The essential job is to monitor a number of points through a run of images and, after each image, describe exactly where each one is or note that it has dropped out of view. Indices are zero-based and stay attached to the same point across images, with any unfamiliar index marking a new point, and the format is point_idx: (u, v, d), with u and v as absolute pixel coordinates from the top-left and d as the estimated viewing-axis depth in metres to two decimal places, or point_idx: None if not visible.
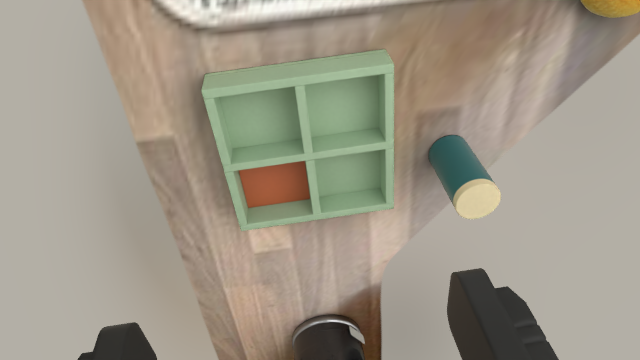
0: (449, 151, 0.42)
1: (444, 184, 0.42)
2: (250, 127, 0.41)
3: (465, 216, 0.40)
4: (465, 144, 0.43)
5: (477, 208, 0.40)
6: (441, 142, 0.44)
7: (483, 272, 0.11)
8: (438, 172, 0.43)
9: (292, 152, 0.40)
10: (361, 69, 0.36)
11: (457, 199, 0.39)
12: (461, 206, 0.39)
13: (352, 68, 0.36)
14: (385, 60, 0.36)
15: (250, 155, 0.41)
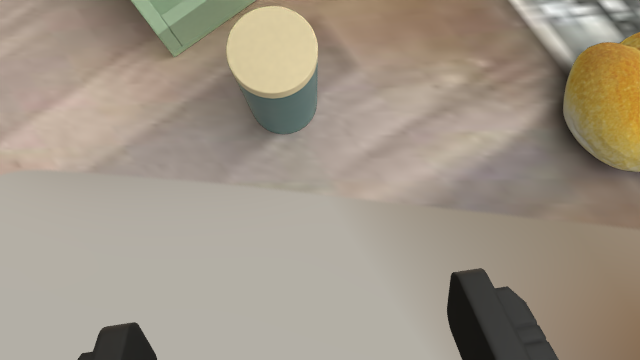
0: None
1: None
2: None
3: (230, 50, 0.20)
4: None
5: (258, 58, 0.20)
6: None
7: (483, 272, 0.11)
8: None
9: None
10: None
11: (257, 9, 0.20)
12: (247, 26, 0.20)
13: None
14: None
15: None
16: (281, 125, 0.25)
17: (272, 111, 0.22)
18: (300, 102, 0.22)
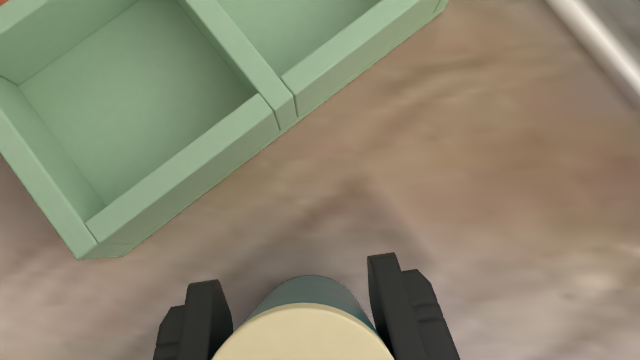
0: (339, 288, 0.14)
1: (257, 308, 0.11)
2: None
3: None
4: None
5: None
6: (331, 281, 0.16)
7: (393, 255, 0.11)
8: (268, 297, 0.13)
9: None
10: None
11: (265, 315, 0.08)
12: None
13: None
14: None
15: None
16: None
17: None
18: None
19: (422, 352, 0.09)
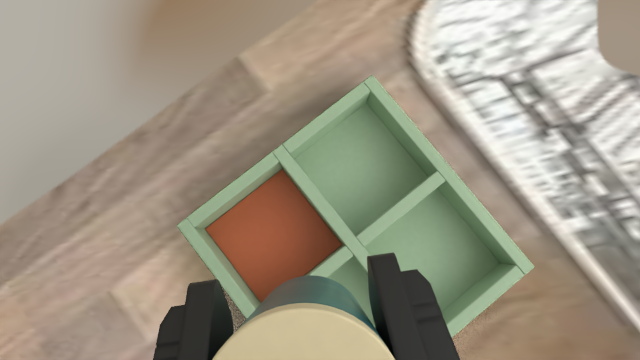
0: (339, 289, 0.14)
1: (257, 308, 0.11)
2: (333, 166, 0.30)
3: None
4: None
5: None
6: (331, 281, 0.16)
7: (393, 255, 0.11)
8: (268, 297, 0.13)
9: None
10: (504, 233, 0.27)
11: (266, 315, 0.08)
12: None
13: (497, 223, 0.28)
14: None
15: None
16: None
17: None
18: None
19: (422, 352, 0.09)
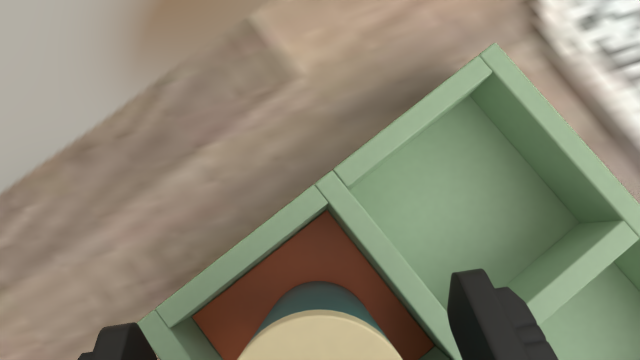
0: (348, 294, 0.14)
1: (272, 314, 0.12)
2: (415, 205, 0.18)
3: None
4: None
5: None
6: (339, 286, 0.16)
7: (483, 272, 0.11)
8: (280, 302, 0.14)
9: None
10: None
11: (285, 321, 0.09)
12: None
13: None
14: None
15: None
16: None
17: None
18: None
19: None
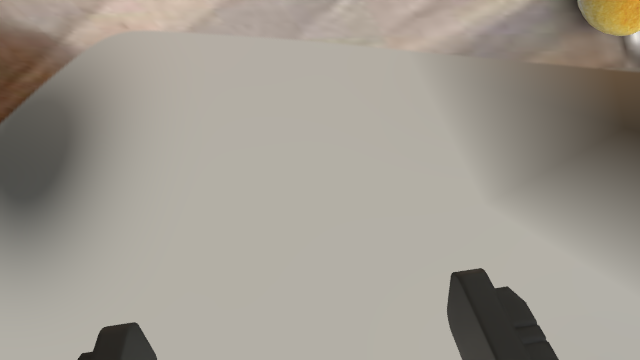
0: None
1: None
2: None
3: None
4: None
5: None
6: None
7: (483, 272, 0.11)
8: None
9: None
10: None
11: None
12: None
13: None
14: None
15: None
16: None
17: None
18: None
19: None
